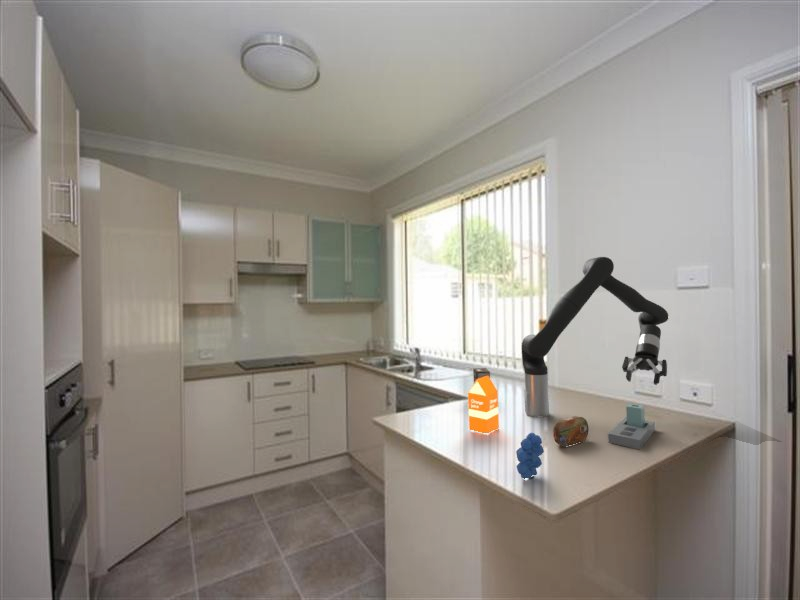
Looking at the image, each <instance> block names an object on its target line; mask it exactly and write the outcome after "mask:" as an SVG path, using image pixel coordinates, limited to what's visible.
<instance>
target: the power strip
mask: <svg viewBox="0 0 800 600" xmlns="http://www.w3.org/2000/svg"><path fill="white" fill-rule="evenodd" d="M655 424H656V423H655V421H651V420H646V419H645V428H641V427H635V426H630V425H627V416H625V417H624V418H623V419H622V420H621V421H620V422H619V423H617V425H616V426H614V428H613V429H611V430H610V431H609V432H608V433H607V437H608V439H607V441H608V443H610V444H613V445H617V444H618V446H623V447H627V448H632V449H635V450H641V449H642V448H643V446H644V445H645V444H646V443H647V441H648V440H649V439H650V438H651V436H652V435H653V433H654V432H655V431H656V425H655Z"/></svg>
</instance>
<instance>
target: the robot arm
mask: <svg viewBox="0 0 800 600" xmlns="http://www.w3.org/2000/svg"><path fill="white" fill-rule="evenodd" d="M614 265H615V264H614V262H613V260H612V259H611V258H610V257H607V256H597V257H593V258H590V259H588V260H585V262H584V263H583V264H582V273H583V275H584V276H583V277H582V278H581V279H580V280H579V281H578V282H577V283H576V284H574V285H573V286H571V287H570V288H569V289H567V291H566V292H564V293H563V294H562V295H561V296H560V297H559V298H558V300H557V301H556V302H555V304H554V305H553V307H552V308H551V310H550V313H549V316H548V318H547V321H546V322H545V324H544V325H543V327H542V328H541V329H540V330H539V331H538V332H537V333H536V334H528V335H526V336H525V337H524V338H523V339H522V342H521V361H522V362H521V363H522V366H523V371H524V389H523V392H524V412H525V413H526V416H529V417H537V418H544V417H548V416H550V398H549V396H550V395H549V373H548V366H547V364H546V362H545V356H547V355H548V354H549V352H550V351H551V349H552V348H553V346H554V345H555V343H556V342H557V340H558V338H559V337H560V336H561V334H562V333H563V331H565V330H566V328H568V326H569V324H571V322H572V320H574V319H575V318H576V316H577V315H578V314H579V312H580V311H581V310H582V308H583V307H584V306H585V305H586V304H587V302H588V301H589V300H590V298H591V297H592V295H594V293H595V292H596V291H597V290H598V289H599V287H600V286H601V288H603V289H605V290H606V291H608V292H609V293H611V294H612V295H613V296H614V297H616V299H618V300H619V301H621V303H623V305H625V306H626V307H627V308H628V309H630V310H631V311H632V312H633V313H640V314H639V315H638V324H639V325H638V326H639V330H640V331H639V336H638V340H637V343H636V347H635V353H634V357H633V358H630V357H629V356H625V357H624V360H623V363H622V367H621V368H622V371H623V373H626V374H625V379H626V380H627V382H630V383H631V381H632V376H633V373H635V372H637V371H638V370H640V371H648V372H650V371H652V372H653V374H654V377H653V384H654V385H655V386H657V385H659V384H660V380H661V377H667V375H668V361H667V360H666V359H662V360H658V359H659V353H660V346H661V336H662V335H661V334H662V331H661V330H662V329H661V328H660V327H659V326H658V325H660V324H663V323H666V322H668V321H669V318H668V316H669V313H668V311H667V309H665V308H664V307H663V306H661V305H659V304H657V303H655V302H653V301H651V300H649V299H646V297H644V295H642V294H641V293H640V292H639V291H637V290H636V289H635V288H633V287H631V286H629V285H628V284H626V283H624V282H623V281H620V280H619V279H617V278H616V277H614V276H613V275H612V273H613V272H614V268H615V266H614ZM631 363H632V364H631ZM630 364H631V365H630ZM629 365H630V366H629ZM658 365H659V367H661V371H660V370H659V369H658V367H657V366H658Z"/></svg>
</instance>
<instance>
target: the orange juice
mask: <svg viewBox="0 0 800 600" xmlns="http://www.w3.org/2000/svg"><path fill="white" fill-rule="evenodd" d="M498 395H499V393H498V389H497V387H496V386H495V384H494V383H493V381H492V380H491V377H490V378H489V376H485V377H482V378H479V379H476V382H475V383H474V382H473V385H472V386H471V388H470V390H468V393H467V398H468V399H467V400H468V401H467V403H468V422H469V423H468V425H469V429H470V430H474V431H478V432H482V433H489V432H491V431H493V430H496V429H498V428H499V427H500V422H499V397H498ZM499 429H500V428H499ZM470 430H469V431H470Z"/></svg>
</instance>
